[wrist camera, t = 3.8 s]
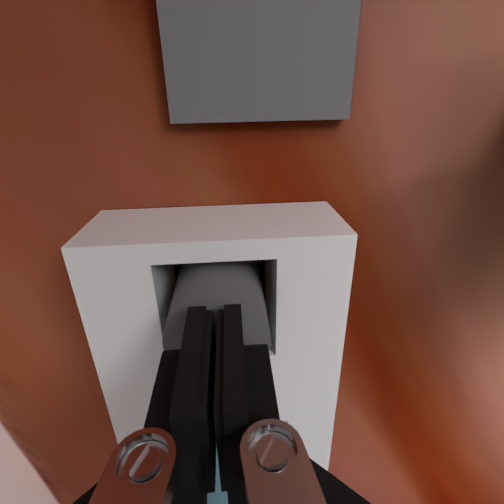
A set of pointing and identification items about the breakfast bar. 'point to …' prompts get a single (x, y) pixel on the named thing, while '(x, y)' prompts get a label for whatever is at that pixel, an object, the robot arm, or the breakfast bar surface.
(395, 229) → the breakfast bar surface
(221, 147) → the breakfast bar surface
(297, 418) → the housing
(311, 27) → the mat
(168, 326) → the plunger
